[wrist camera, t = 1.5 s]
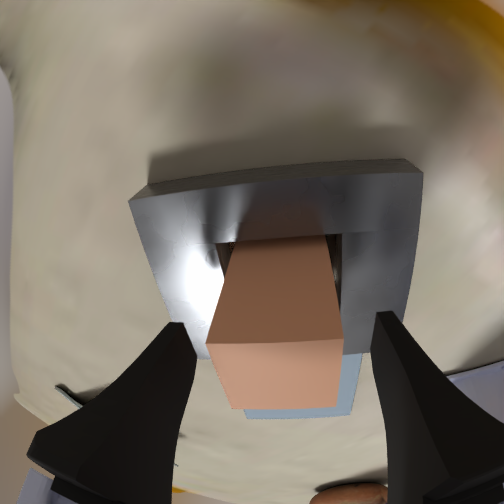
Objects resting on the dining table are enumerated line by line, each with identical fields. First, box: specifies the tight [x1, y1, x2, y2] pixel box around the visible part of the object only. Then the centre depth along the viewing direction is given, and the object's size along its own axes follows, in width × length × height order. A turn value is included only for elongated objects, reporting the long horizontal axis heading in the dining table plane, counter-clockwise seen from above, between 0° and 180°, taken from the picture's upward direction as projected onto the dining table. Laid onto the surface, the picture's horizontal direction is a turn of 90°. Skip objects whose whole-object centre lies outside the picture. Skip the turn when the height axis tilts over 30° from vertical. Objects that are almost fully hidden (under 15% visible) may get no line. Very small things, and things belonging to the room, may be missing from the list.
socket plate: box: [128, 159, 423, 359], centre depth 14 cm, size 12×10×2 cm
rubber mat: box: [244, 353, 362, 419], centre depth 21 cm, size 9×9×1 cm
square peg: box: [205, 234, 344, 409], centre depth 12 cm, size 4×4×7 cm
